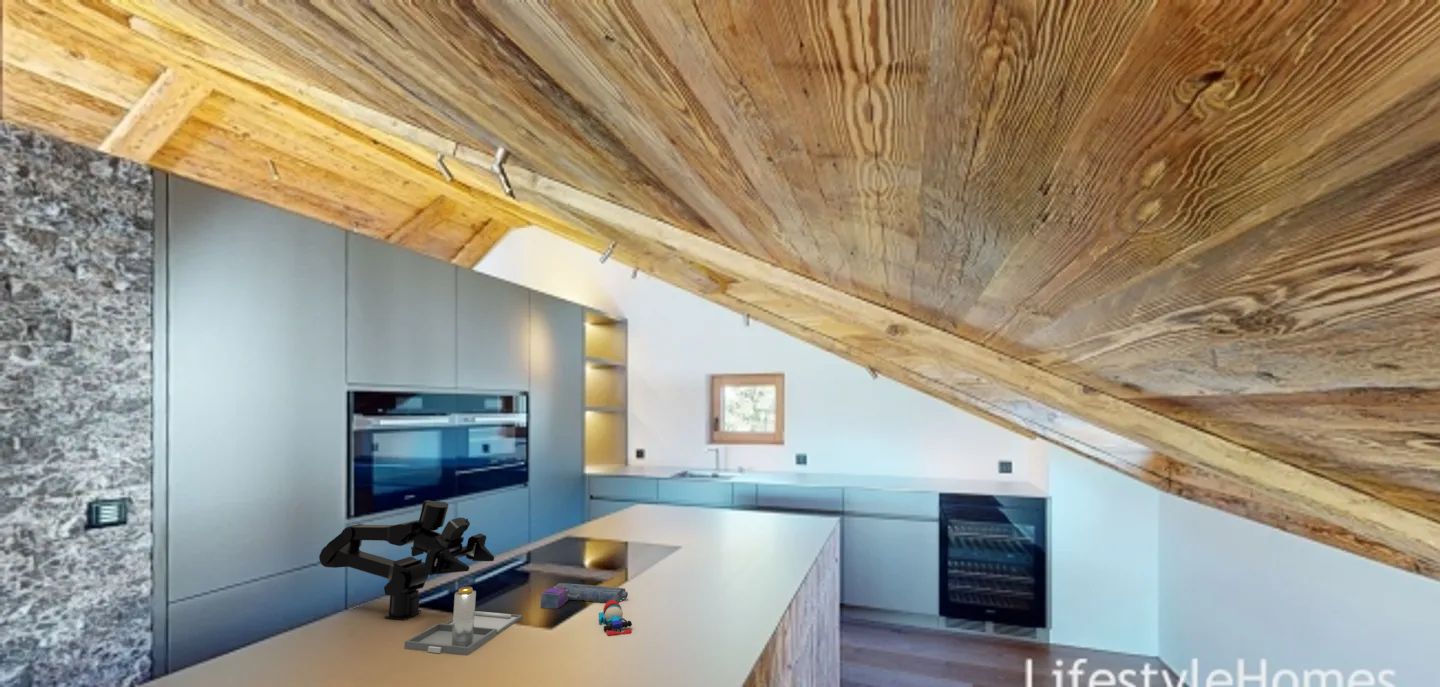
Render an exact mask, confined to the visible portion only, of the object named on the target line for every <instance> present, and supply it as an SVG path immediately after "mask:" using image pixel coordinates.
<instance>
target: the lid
mask: <svg viewBox="0 0 1440 687" xmlns="http://www.w3.org/2000/svg"><path fill="white" fill-rule="evenodd" d="M521 619H523V614H513V613H512V614H511V613H503V612H491V611H490V612H489V611H478V610H475V616H474V627H484V628H494V629H497V636H498V635H500V634H501V633H502V632H504V631H505V630H507V629H509V628H510V627H511V626H513V625H514V624H516V623H517V622H519V621H520V620H521ZM443 624H453V618H451V619H450V620H448V621H446V622H444V623H443Z"/></svg>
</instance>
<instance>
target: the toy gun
mask: <svg viewBox="0 0 1440 687" xmlns="http://www.w3.org/2000/svg"><path fill="white" fill-rule="evenodd" d="M628 594H629V592H628V591H626V588H623V587H614V586H602V585H591V584H577V583H565V582H564V583H563V582H559V583H557V584H556V585H553V586H552V588H551V587H550V588H548V589H546V590H544V591H543V592H542V593H541V594H540V608H543V609H544V608H545V609H559V608H561V607H563V606H564V605H565V604H566V603H567V602H568V601H569V600H573V601H583V600H584V601H585V602H589V601H591V602H595V603H596V602H598V603H604V602H606V603H607V602H608V601H610V600H614V601H616V602H617V603H619V601H620V600H622V599H623V598H625V599H628V596H629V595H628ZM623 600H624V599H623ZM623 600H622V601H623ZM620 602H621V601H620Z"/></svg>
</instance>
